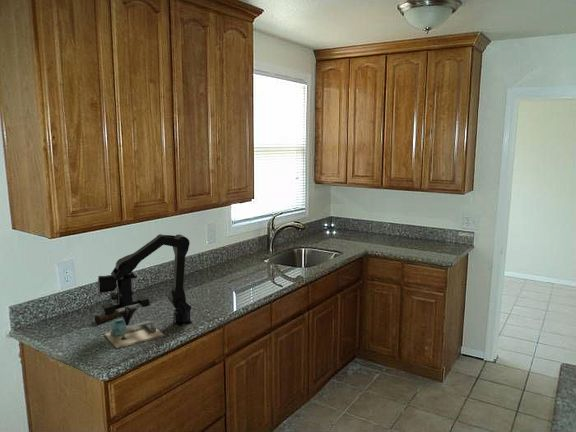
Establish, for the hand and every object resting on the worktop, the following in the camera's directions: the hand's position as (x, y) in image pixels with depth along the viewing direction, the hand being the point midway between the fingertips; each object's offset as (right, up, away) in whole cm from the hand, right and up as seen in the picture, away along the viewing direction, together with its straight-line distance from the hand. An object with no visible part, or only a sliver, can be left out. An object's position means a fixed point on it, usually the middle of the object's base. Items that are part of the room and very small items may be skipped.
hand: (126, 324), depth 189 cm
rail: (+1, -4, +2) cm, 4 cm away
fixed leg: (+9, -3, +3) cm, 10 cm away
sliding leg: (-1, -3, -3) cm, 5 cm away
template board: (+4, -4, -2) cm, 6 cm away
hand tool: (-12, -1, +18) cm, 22 cm away
